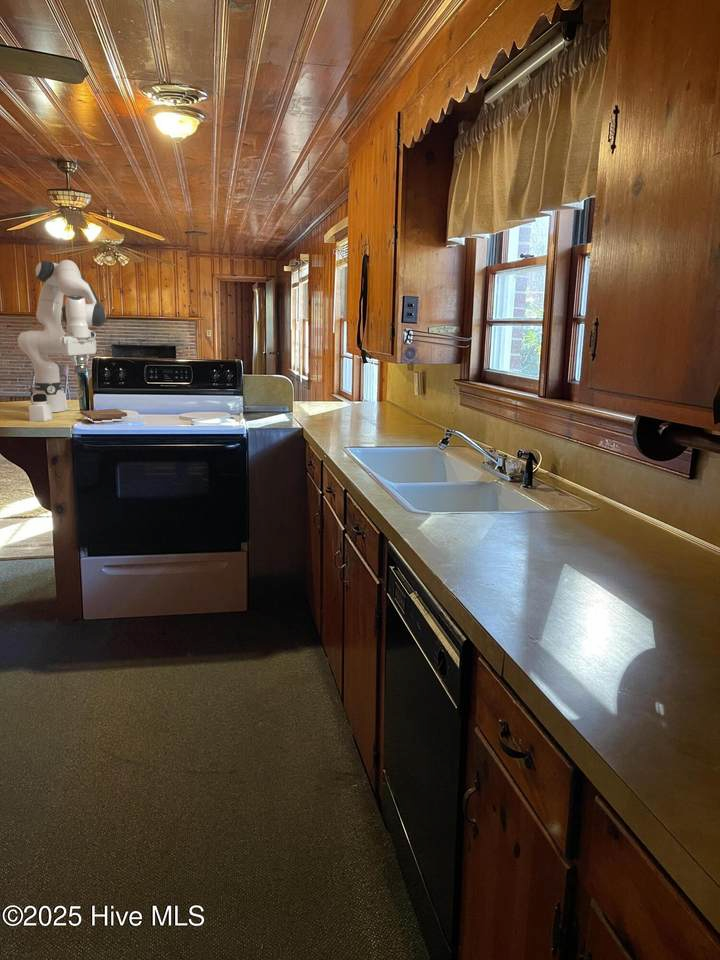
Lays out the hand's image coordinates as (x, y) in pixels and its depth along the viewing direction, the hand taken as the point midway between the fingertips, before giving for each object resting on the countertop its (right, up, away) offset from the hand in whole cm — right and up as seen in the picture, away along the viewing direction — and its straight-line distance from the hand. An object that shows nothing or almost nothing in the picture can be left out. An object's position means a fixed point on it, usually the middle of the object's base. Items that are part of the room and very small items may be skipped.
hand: (80, 365), depth 312 cm
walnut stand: (+7, -24, +9) cm, 27 cm away
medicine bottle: (-21, -24, +8) cm, 33 cm away
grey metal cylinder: (0, -3, +1) cm, 3 cm away
